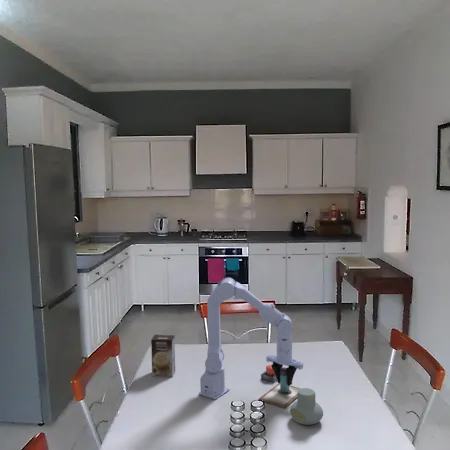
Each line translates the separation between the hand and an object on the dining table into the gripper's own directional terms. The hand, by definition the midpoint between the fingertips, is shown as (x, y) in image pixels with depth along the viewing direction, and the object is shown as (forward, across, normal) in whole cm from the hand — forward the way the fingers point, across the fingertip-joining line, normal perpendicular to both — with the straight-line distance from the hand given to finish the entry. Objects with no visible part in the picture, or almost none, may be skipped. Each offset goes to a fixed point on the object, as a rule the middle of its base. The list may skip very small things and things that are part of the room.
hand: (284, 383), depth 166 cm
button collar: (+4, +11, -9) cm, 15 cm away
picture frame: (+4, 0, +2) cm, 4 cm away
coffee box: (+4, +51, +12) cm, 53 cm away
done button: (+3, +11, -9) cm, 14 cm away
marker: (+3, 0, 0) cm, 3 cm away
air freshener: (+4, -15, +13) cm, 20 cm away
